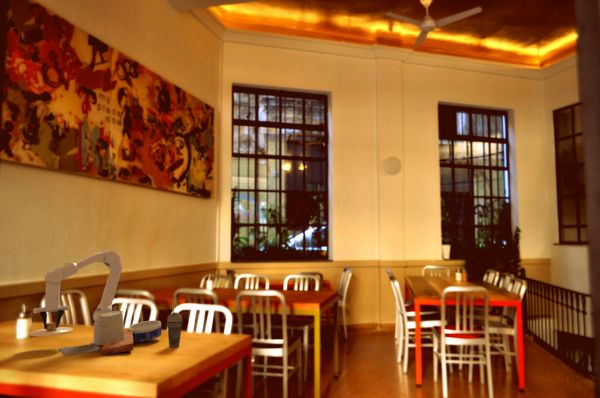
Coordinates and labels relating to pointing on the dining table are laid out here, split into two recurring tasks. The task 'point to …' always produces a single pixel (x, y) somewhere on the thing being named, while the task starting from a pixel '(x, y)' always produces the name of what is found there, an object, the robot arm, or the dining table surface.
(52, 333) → the lid
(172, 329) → the beverage cup
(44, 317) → the robot arm
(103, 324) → the grey cylinder
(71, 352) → the mat
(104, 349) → the brown wooden board
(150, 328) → the dog bowl
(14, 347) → the dining table surface
